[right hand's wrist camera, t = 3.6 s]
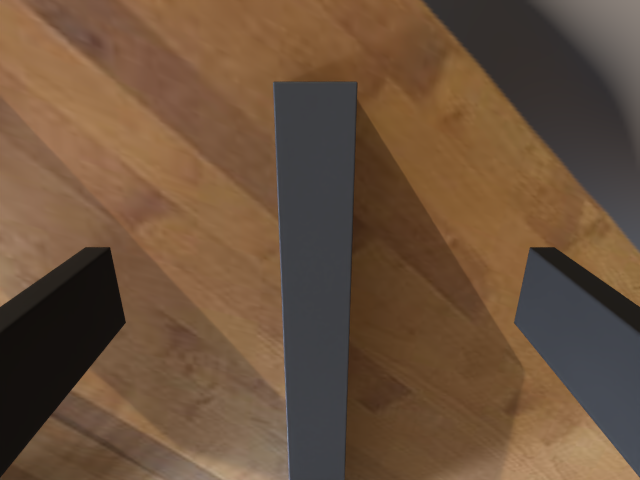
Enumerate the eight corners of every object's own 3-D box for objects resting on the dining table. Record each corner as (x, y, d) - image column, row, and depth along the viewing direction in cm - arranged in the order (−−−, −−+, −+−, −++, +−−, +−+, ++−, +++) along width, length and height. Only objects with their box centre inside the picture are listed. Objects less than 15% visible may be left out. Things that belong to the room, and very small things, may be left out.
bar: (284, 82, 32) (272, 81, 23) (347, 82, 32) (357, 81, 24) (297, 524, 51) (294, 608, 43) (336, 524, 51) (340, 608, 43)
